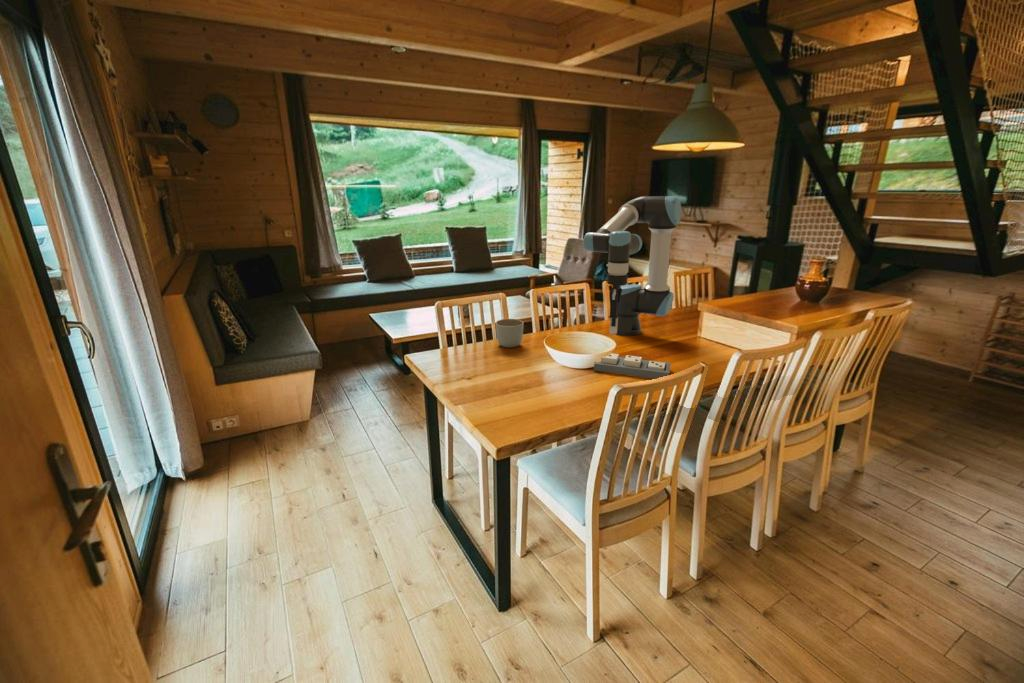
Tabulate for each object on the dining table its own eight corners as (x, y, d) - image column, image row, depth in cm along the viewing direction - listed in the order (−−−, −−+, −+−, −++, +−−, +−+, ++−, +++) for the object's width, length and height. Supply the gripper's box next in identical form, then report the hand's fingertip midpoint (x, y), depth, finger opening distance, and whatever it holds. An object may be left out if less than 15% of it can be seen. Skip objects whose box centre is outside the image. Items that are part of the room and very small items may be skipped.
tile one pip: (603, 358, 191) (603, 351, 191) (618, 360, 189) (618, 353, 189) (600, 363, 186) (601, 356, 185) (615, 365, 184) (616, 358, 183)
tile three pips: (648, 366, 186) (649, 360, 185) (664, 368, 184) (665, 362, 183) (647, 372, 180) (647, 365, 180) (663, 374, 178) (664, 367, 178)
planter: (525, 341, 219) (525, 319, 216) (520, 350, 207) (521, 327, 204) (499, 340, 221) (498, 318, 218) (493, 349, 209) (493, 325, 206)
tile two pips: (625, 361, 188) (626, 354, 188) (641, 362, 186) (641, 356, 186) (623, 366, 183) (624, 359, 182) (639, 368, 181) (640, 361, 180)
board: (599, 361, 195) (599, 354, 194) (670, 370, 186) (670, 363, 185) (593, 370, 185) (594, 363, 184) (668, 380, 176) (669, 373, 175)
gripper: (610, 270, 183) (606, 328, 191) (604, 275, 172) (600, 337, 179) (629, 271, 181) (625, 329, 188) (625, 277, 169) (620, 339, 177)
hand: (613, 333), depth 184 cm, fingers closed
